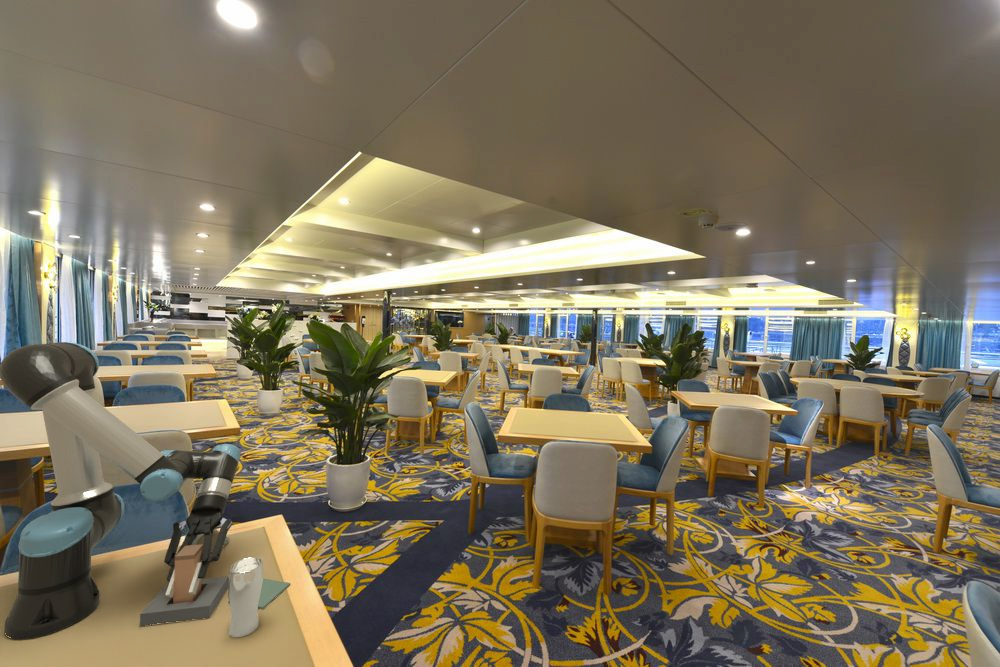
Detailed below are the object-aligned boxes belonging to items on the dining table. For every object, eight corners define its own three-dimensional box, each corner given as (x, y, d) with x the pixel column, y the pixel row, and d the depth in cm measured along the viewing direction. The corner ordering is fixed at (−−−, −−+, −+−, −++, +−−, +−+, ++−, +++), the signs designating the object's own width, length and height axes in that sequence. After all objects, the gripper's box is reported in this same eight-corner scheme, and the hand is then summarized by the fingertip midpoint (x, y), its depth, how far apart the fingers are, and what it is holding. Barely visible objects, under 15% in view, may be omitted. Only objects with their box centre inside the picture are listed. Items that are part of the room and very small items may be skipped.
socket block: (139, 626, 94) (140, 613, 94) (167, 593, 106) (167, 582, 106) (209, 618, 98) (209, 605, 98) (228, 587, 109) (228, 576, 109)
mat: (228, 603, 103) (228, 600, 103) (258, 579, 113) (258, 577, 113) (263, 609, 101) (263, 607, 101) (290, 585, 111) (290, 582, 111)
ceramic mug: (195, 560, 121) (197, 534, 121) (183, 551, 125) (184, 526, 125) (233, 545, 130) (235, 521, 130) (221, 537, 134) (223, 514, 134)
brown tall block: (172, 613, 99) (175, 556, 99) (182, 600, 104) (184, 545, 103) (191, 611, 100) (194, 554, 100) (201, 598, 105) (203, 544, 105)
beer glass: (235, 644, 90) (238, 577, 90) (220, 630, 94) (222, 566, 94) (267, 625, 96) (269, 562, 96) (251, 613, 100) (254, 553, 100)
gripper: (249, 501, 119) (224, 594, 103) (180, 506, 114) (144, 603, 98) (243, 491, 113) (217, 586, 98) (171, 494, 109) (131, 595, 93)
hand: (180, 594), depth 98 cm, fingers closed on brown tall block, 4 cm apart
